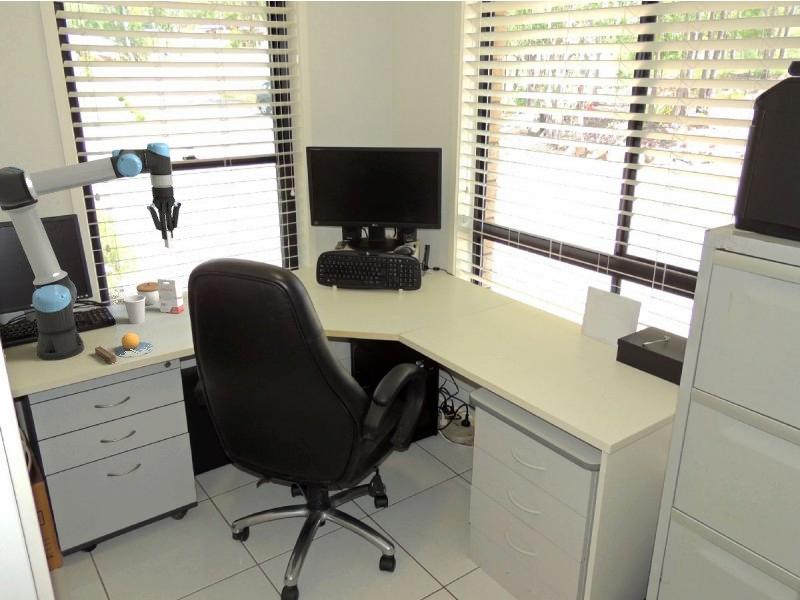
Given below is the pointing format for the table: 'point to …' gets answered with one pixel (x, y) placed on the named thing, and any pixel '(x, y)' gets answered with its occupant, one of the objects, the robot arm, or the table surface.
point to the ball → (130, 341)
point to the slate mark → (140, 346)
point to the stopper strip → (105, 355)
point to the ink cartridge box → (170, 296)
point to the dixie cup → (135, 308)
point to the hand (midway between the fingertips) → (168, 247)
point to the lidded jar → (149, 292)
